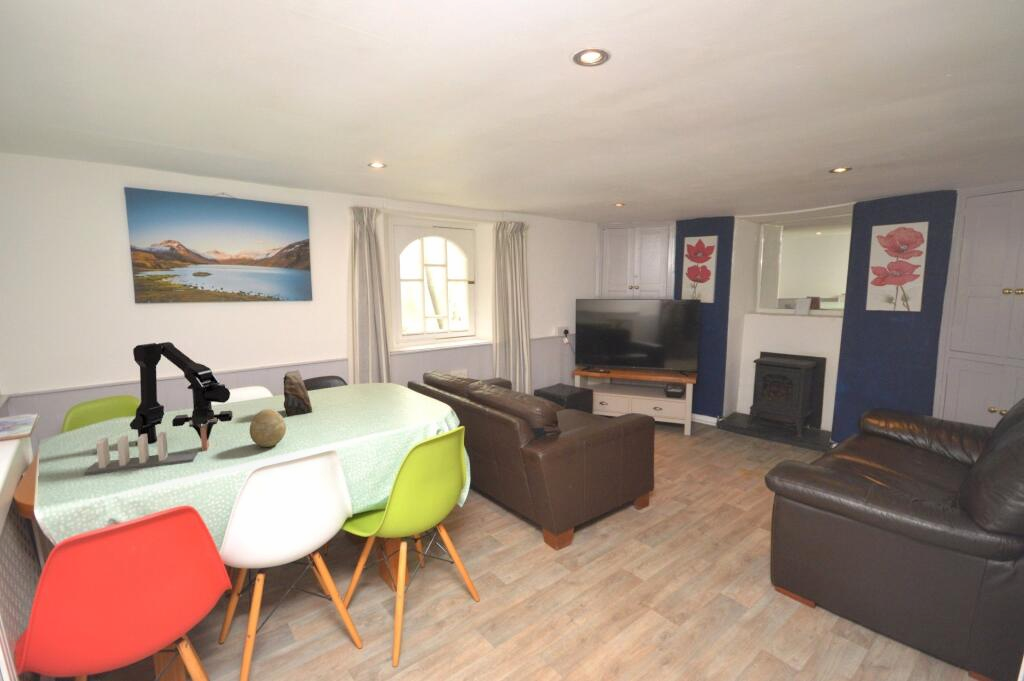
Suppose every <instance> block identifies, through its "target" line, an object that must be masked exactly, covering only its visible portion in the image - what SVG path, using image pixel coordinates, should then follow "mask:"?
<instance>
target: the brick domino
mask: <svg viewBox="0 0 1024 681" xmlns="http://www.w3.org/2000/svg"><path fill="white" fill-rule="evenodd" d="M207 424H208V423H207ZM207 424H201V428H200V429H201V439H200V441H201V442H200V443H201V451H202V452H205V451H206V452H207V451H208V449H209V448H210V438H209V439H208V440H207Z"/></svg>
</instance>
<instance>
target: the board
mask: <svg viewBox="0 0 1024 681" xmlns="http://www.w3.org/2000/svg"><path fill="white" fill-rule="evenodd" d="M198 453H199V452H198V450H188V451H179V452H171V453H169V452H168V456H167V458H166V459H165V460H164V461H159V456H158V454H154V455H153V454H152V455H149V459H148V460H147V461H146V463H140V462H139V456H137V457H130V461H129V462H128V463H127V464H126V465H123V466H120V464H119V458H118V459H113V460H112V459H110V463H109V464H108V465H107V466H106V467H105V468H99V463H98V461H95V462H93V463H92V465H90V466H89V467H88V468H87V469H86V470H85V471H84V473H83V474H84V476H89V475H96V474H97V475H98V474H103V473H112V472H114V473H115V472H120V471H128V470H129V471H130V470H134V469H135V470H136V469H144V468H145V469H146V468H151V467H153V468H154V467H160V466H168V465H175V464H184V463H191V462H194V460H195V458H196V456H197V455H198Z"/></svg>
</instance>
